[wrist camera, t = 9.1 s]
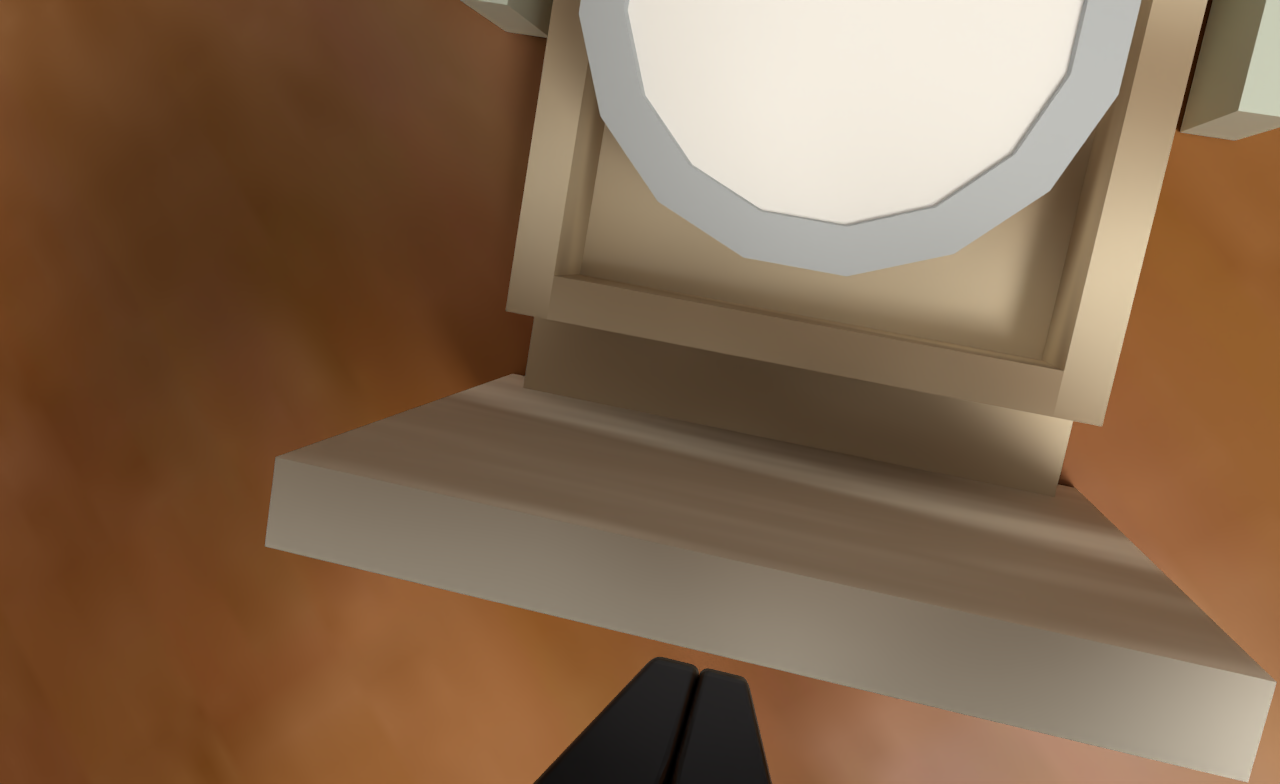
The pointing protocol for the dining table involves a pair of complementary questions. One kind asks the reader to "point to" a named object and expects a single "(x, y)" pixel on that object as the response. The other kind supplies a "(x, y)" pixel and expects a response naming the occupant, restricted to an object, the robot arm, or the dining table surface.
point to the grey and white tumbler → (853, 115)
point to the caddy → (1221, 88)
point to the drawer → (812, 446)
